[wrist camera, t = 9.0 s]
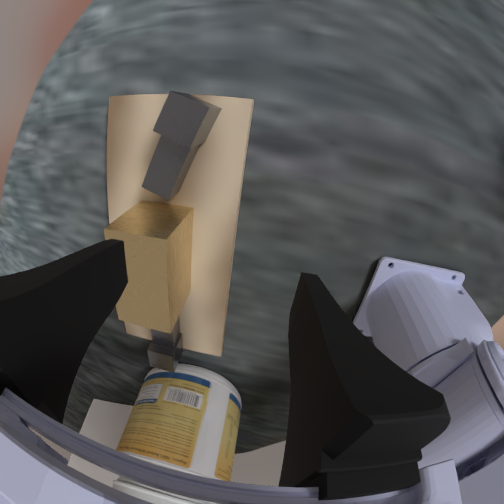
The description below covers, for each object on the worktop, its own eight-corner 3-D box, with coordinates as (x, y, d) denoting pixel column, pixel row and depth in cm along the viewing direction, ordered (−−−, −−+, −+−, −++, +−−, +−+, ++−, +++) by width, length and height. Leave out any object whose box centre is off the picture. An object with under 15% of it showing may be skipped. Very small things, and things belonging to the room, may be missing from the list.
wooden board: (254, 100, 15) (252, 99, 15) (222, 349, 26) (221, 356, 25) (116, 96, 16) (109, 96, 15) (130, 327, 26) (126, 333, 25)
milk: (143, 407, 36) (95, 543, 13) (175, 438, 41) (143, 553, 18) (93, 398, 38) (44, 509, 15) (126, 429, 43) (91, 528, 20)
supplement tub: (135, 381, 32) (92, 485, 17) (173, 342, 27) (115, 491, 12) (210, 419, 34) (187, 520, 20) (264, 392, 29) (249, 527, 14)
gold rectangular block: (193, 207, 18) (166, 239, 14) (190, 290, 22) (170, 333, 17) (141, 200, 18) (104, 228, 14) (145, 280, 22) (118, 319, 17)
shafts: (223, 95, 15) (211, 92, 12) (203, 354, 25) (195, 378, 23) (156, 93, 15) (134, 91, 12) (160, 344, 25) (150, 366, 23)
